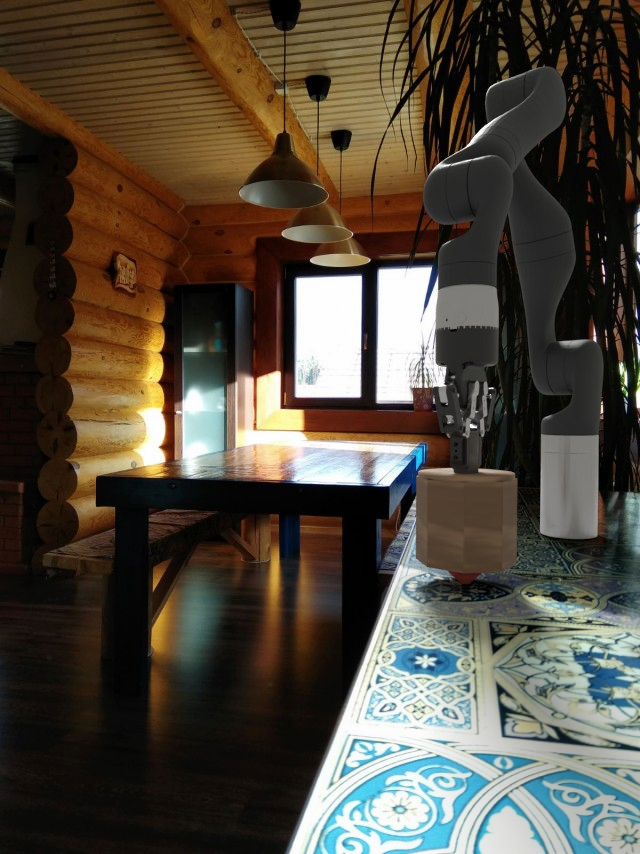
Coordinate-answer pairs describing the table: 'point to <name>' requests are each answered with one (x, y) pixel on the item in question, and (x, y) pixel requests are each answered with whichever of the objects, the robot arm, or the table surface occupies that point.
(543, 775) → the table surface
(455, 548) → the tan jar with knob
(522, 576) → the table surface
